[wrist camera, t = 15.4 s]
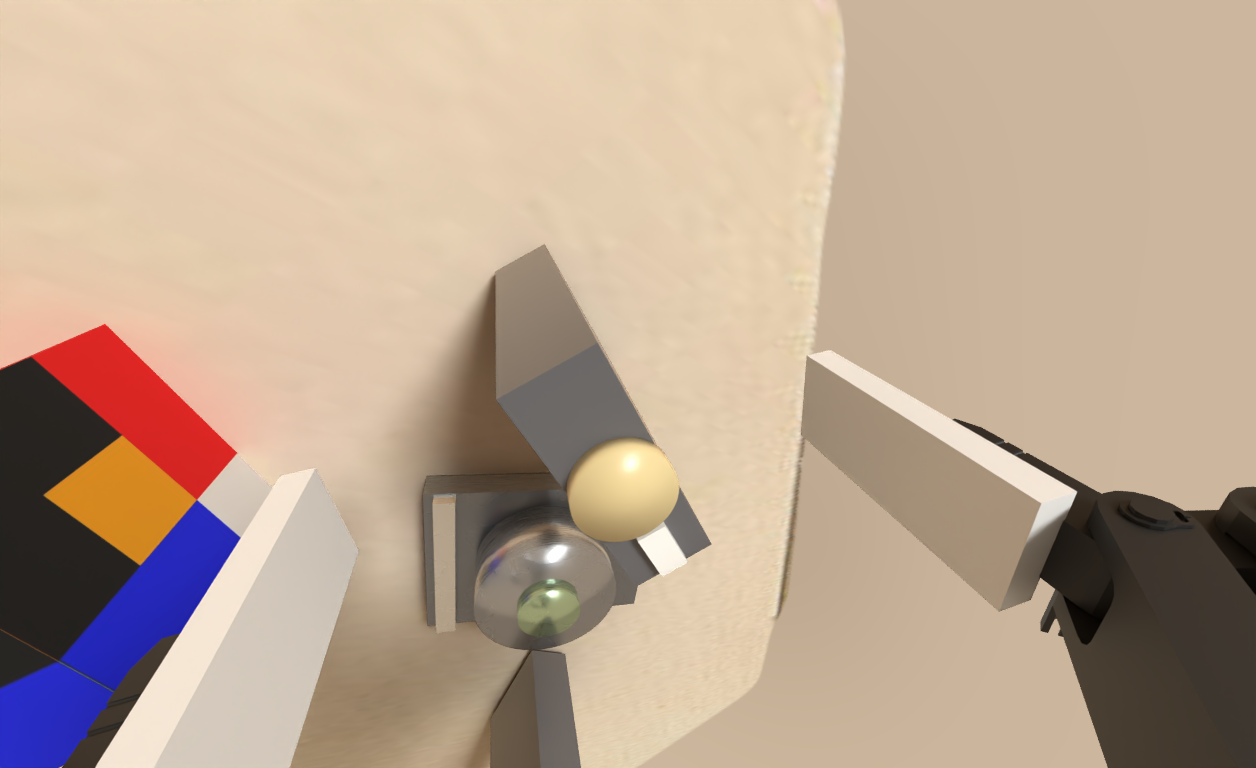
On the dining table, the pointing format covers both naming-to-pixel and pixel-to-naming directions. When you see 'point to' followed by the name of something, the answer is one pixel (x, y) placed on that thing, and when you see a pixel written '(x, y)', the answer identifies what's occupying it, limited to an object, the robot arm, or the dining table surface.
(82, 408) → the puzzle toy
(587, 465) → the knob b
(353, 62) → the dining table surface
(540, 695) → the dark grey flat block
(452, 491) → the levelling plate
